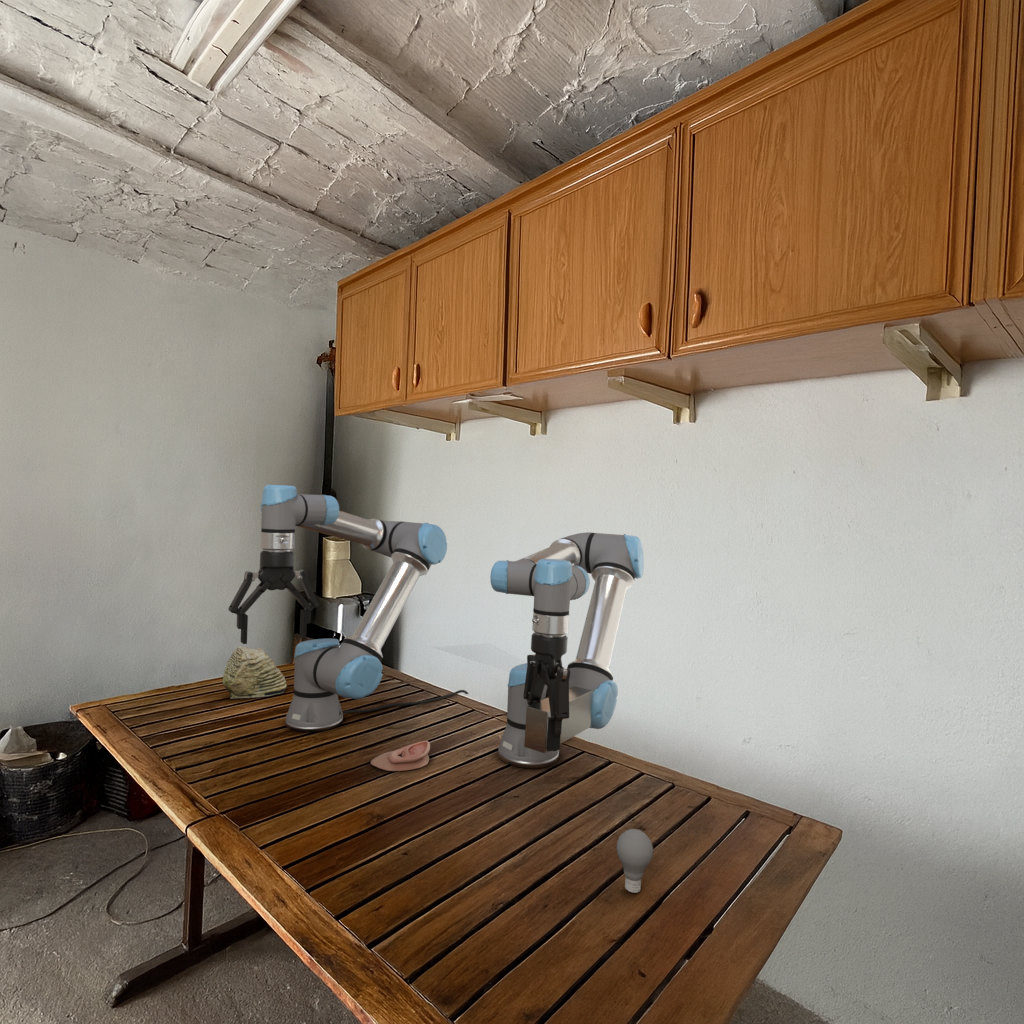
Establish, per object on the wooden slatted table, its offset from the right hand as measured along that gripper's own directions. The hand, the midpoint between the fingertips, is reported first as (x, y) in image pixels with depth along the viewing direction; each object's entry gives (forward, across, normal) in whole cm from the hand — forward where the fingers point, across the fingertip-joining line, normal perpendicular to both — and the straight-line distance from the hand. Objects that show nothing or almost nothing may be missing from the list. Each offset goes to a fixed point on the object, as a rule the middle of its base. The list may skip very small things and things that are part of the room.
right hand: (543, 742), depth 132 cm
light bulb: (+14, +30, 0) cm, 34 cm away
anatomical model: (+14, -33, -19) cm, 41 cm away
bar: (+1, -4, +6) cm, 7 cm away
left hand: (-14, -45, -48) cm, 68 cm away
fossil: (+15, -98, -46) cm, 110 cm away
